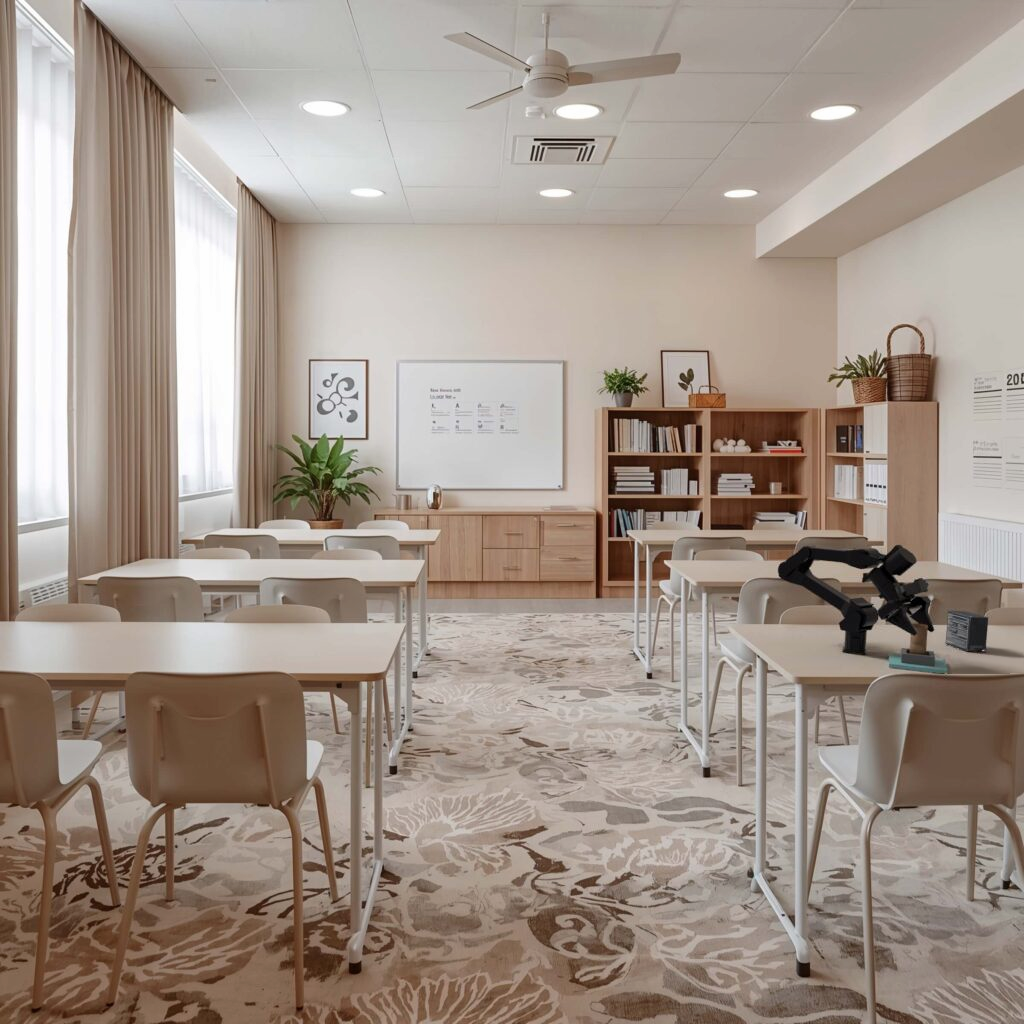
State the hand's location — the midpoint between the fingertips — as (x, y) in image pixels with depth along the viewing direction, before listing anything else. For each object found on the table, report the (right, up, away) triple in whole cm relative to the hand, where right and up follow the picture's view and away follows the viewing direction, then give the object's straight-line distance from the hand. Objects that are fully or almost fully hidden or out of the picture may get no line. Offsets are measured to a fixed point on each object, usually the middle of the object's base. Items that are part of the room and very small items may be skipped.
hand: (924, 633), depth 239 cm
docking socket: (-1, -9, +2) cm, 9 cm away
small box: (+24, -8, +27) cm, 37 cm away
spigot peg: (-1, -8, +2) cm, 8 cm away
